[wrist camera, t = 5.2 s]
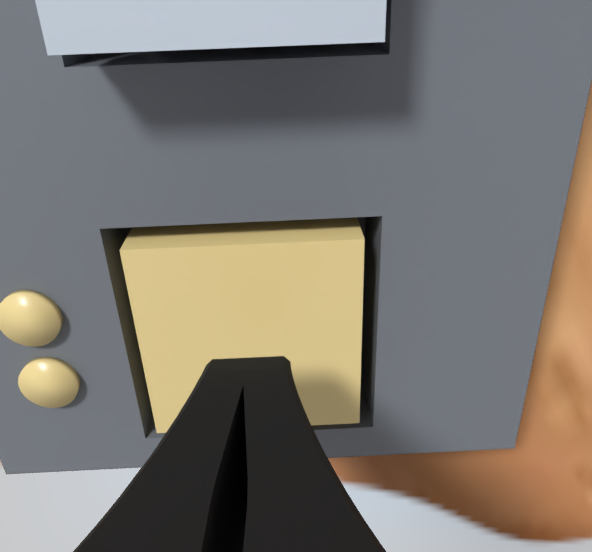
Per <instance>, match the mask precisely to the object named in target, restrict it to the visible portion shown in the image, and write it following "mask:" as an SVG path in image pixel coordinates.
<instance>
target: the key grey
mask: <svg viewBox="0 0 592 552" xmlns="http://www.w3.org/2000/svg"><path fill="white" fill-rule="evenodd" d="M35 2H36V7H37V11H38V15H39V20H40V24H41V28H42V33H43V37H44V41H45V46H46V50H47V54H48V55H71V54H96V53H121V52H146V51H172V50H197V49H222V48H247V47H272V46H297V45H322V44H347V43H373V42H385V27H386V2H387V0H35Z"/></svg>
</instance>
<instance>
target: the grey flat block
mask: <svg viewBox="0 0 592 552" xmlns="http://www.w3.org/2000/svg"><path fill="white" fill-rule="evenodd" d="M591 81H592V0H387V2H386V27H385V42H373V43H347V44H322V45H297V46H272V47H247V48H222V49H197V50H172V51H146V52H121V53H96V54H71V55H48V54H47V50H46V46H45V41H44V37H43V33H42V28H41V24H40V20H39V15H38V11H37V7H36V2H35V0H0V460H1V462H2V465H3V467H4V470H5V472H6V474H19V473H38V472H39V473H40V472H59V471H78V470H98V469H118V468H137V467H142V466H143V465H144V464H145V462H146V461H147V460H148V458H149V457H150V456H151V454H152V453H153V451H154V450H155V449H156V447H157V446H158V444H159V443H160V441H161V440H162V438H163V437H164V435H165V434H166V433H157V432H156V427H155V422H154V417H153V412H152V407H151V402H150V398H149V393H148V388H147V383H146V378H145V373H144V368H143V363H142V358H141V353H140V349H139V344H138V339H137V334H136V329H135V324H134V319H133V314H132V309H131V305H130V300H129V295H128V290H127V285H126V280H125V275H124V270H123V265H122V260H121V256H120V251H119V250H120V248H121V247H122V245H123V243H124V241H125V239H126V238H127V236H128V234H129V232H130V230H131V229H132V227H151V226H173V225H195V224H218V223H240V222H263V221H285V220H308V219H330V218H353V217H357V218H358V221H359V224H360V227H361V230H362V233H363V236H364V239H365V244H364V279H363V315H362V351H361V387H360V423H351V424H331V425H311V426H312V428H313V430H314V432H315V434H316V436H317V438H318V440H319V442H320V444H321V446H322V449H323V451H324V452H325V454H326V456H327V458H333V457H353V456H372V455H392V454H412V453H431V452H451V451H470V450H490V449H509V448H515V443H516V438H517V434H518V429H519V424H520V419H521V415H522V410H523V405H524V400H525V395H526V391H527V386H528V381H529V376H530V372H531V367H532V362H533V357H534V353H535V348H536V343H537V338H538V333H539V329H540V324H541V319H542V314H543V310H544V305H545V300H546V295H547V291H548V286H549V281H550V276H551V271H552V267H553V262H554V257H555V252H556V248H557V243H558V238H559V233H560V229H561V224H562V219H563V214H564V209H565V205H566V200H567V195H568V190H569V186H570V181H571V176H572V171H573V166H574V162H575V157H576V152H577V147H578V143H579V138H580V133H581V128H582V124H583V119H584V114H585V109H586V104H587V100H588V95H589V90H590V85H591Z"/></svg>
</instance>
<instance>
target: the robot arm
mask: <svg viewBox="0 0 592 552" xmlns="http://www.w3.org/2000/svg"><path fill="white" fill-rule="evenodd" d="M73 552H386V551H385V549H384V548H383V547H382V545H381V544H380V542H379V541H378V539H377V538H376V537H375V535H374V534H373V532H372V531H371V529H370V528H369V526H368V525H367V524H366V522H365V521H364V519H363V517H362V516H361V514H360V513H359V511H358V509H357V508H356V506H355V505H354V503H353V502H352V500H351V498H350V497H349V495H348V493H347V492H346V490H345V488H344V487H343V485H342V483H341V481H340V480H339V478H338V476H337V474H336V473H335V471H334V469H333V467H332V466H331V464H330V462H329V460H328V458H327V456H326V454H325V452H324V451H323V449H322V446H321V444H320V442H319V440H318V438H317V436H316V434H315V432H314V430H313V428H312V426H311V424H310V422H309V419H308V417H307V415H306V412H305V410H304V408H303V405H302V402H301V400H300V397H299V395H298V392H297V389H296V386H295V382H294V379H293V375H292V370H291V363H290V361H289V360H288V359H287V358H286V357H284V356H273V357H251V358H228V359H212V360H211V361H210V362H209V363H208V364H207V365H206V367H205V369H204V371H203V372H202V374H201V376H200V378H199V380H198V382H197V384H196V385H195V387H194V389H193V391H192V392H191V394H190V396H189V397H188V399H187V401H186V402H185V404H184V406H183V407H182V409H181V411H180V412H179V414H178V415H177V417H176V419H175V420H174V422H173V423H172V425H171V426H170V428H169V429H168V431H167V432H166V434H165V435H164V437H163V438H162V440H161V441H160V443H159V444H158V446H157V447H156V449H155V450H154V451H153V453H152V454H151V456H150V457H149V458H148V460H147V461H146V462H145V464H144V465H143V466H142V468H141V469H140V470H139V472H138V473H137V474H136V476H135V477H134V478H133V480H132V481H131V482H130V484H129V485H128V487H127V488H126V489H125V490H124V492H123V493H122V494H121V496H120V497H119V498H118V499H117V501H116V502H115V503H114V504H113V506H112V507H111V508H110V509H109V511H108V512H107V513H106V514H105V515H104V517H103V518H102V519H101V520H100V521H99V523H98V524H97V525H96V526H95V527H94V529H93V530H92V531H91V532H90V533H89V534H88V536H87V537H86V538H85V539H84V540H83V541H82V542H81V543H80V545H79V546H78V547H77V548H76V549H75V550H74V551H73Z"/></svg>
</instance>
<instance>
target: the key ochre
mask: <svg viewBox="0 0 592 552" xmlns="http://www.w3.org/2000/svg"><path fill="white" fill-rule="evenodd" d="M364 244H365V239H364V236H363V233H362V230H361V227H360V224H359V221H358V218H357V217H353V218H330V219H308V220H285V221H263V222H240V223H218V224H195V225H173V226H151V227H132V229H131V230H130V232H129V234H128V236H127V238H126V239H125V241H124V243H123V245H122V247H121V248H120V250H119V251H120V256H121V260H122V265H123V270H124V275H125V280H126V285H127V290H128V295H129V300H130V305H131V309H132V314H133V319H134V324H135V329H136V334H137V339H138V344H139V349H140V353H141V358H142V363H143V368H144V373H145V378H146V383H147V388H148V393H149V398H150V402H151V407H152V412H153V417H154V422H155V427H156V432H157V433H166V432H167V431H168V429H169V428H170V426H171V425H172V423H173V422H174V420H175V419H176V417H177V415H178V414H179V412H180V411H181V409H182V407H183V406H184V404H185V402H186V401H187V399H188V397H189V396H190V394H191V392H192V391H193V389H194V387H195V385H196V384H197V382H198V380H199V378H200V376H201V374H202V372H203V371H204V369H205V367H206V365H207V364H208V363H209V362H210V361H211V360H212V359H228V358H251V357H273V356H284V357H286V358H287V359H288V360H289V361H290V363H291V370H292V375H293V379H294V382H295V386H296V389H297V392H298V395H299V397H300V400H301V402H302V405H303V408H304V410H305V412H306V415H307V417H308V419H309V422H310V424H311V425H331V424H351V423H360V387H361V351H362V315H363V279H364Z"/></svg>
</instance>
